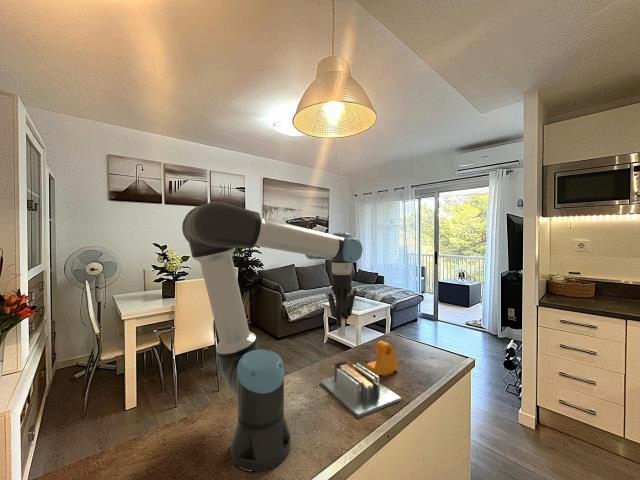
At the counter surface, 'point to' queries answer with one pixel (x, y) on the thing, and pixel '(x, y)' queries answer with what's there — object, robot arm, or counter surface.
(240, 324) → the robot arm
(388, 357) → the bracket
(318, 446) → the counter surface
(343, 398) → the heatsink
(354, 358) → the counter surface
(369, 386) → the strap
